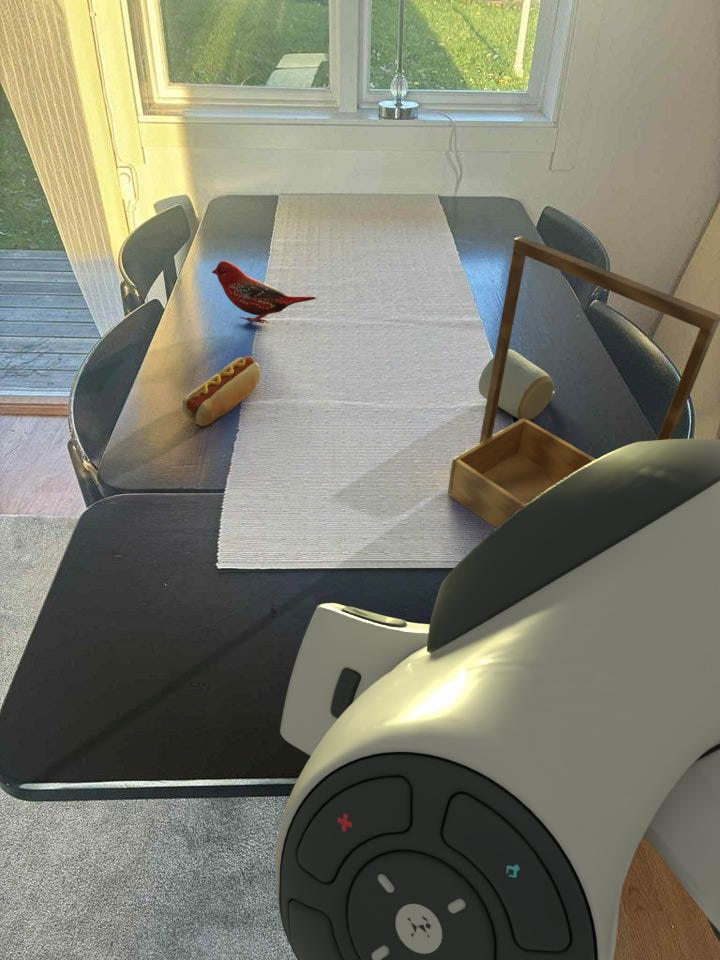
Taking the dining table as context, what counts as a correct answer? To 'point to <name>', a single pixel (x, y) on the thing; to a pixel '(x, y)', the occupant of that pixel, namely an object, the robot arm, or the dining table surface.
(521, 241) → the handle
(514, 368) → the ceramic mug
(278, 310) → the decorative bird figurine
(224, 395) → the food
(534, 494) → the light wood open box
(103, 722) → the dining table surface
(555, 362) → the dining table surface
